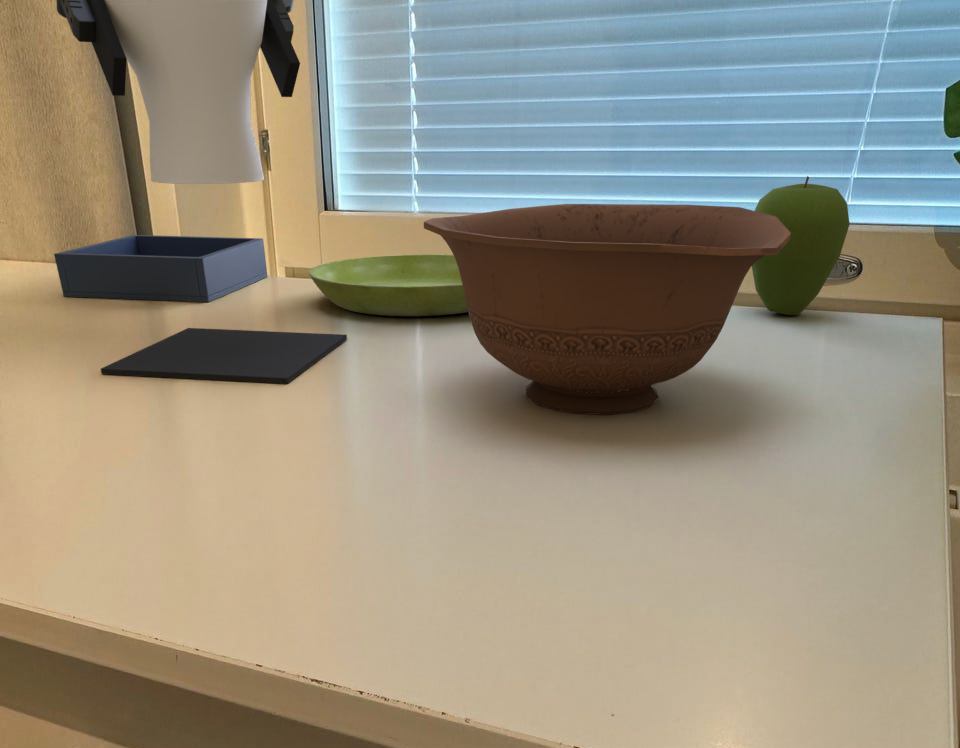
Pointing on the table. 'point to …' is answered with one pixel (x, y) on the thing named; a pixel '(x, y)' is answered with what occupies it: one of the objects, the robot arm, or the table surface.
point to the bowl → (604, 292)
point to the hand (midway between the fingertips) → (209, 79)
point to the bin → (162, 268)
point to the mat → (229, 355)
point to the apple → (801, 245)
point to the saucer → (394, 285)
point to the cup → (195, 84)
